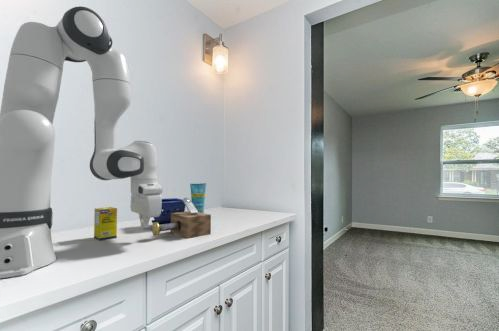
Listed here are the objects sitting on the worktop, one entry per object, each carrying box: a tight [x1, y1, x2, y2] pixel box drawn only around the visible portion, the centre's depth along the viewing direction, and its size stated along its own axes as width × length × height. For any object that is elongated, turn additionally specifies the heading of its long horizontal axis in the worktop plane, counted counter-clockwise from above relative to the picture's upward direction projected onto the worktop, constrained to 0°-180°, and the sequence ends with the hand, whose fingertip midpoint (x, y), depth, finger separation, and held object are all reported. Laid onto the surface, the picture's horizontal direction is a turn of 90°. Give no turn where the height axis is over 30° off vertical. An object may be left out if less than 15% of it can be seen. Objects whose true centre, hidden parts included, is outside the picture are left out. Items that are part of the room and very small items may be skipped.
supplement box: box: [93, 206, 118, 241], centre depth 93 cm, size 6×6×11 cm
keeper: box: [182, 197, 198, 214], centre depth 102 cm, size 3×9×1 cm
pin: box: [151, 222, 181, 237], centre depth 96 cm, size 14×5×5 cm, turn 132°
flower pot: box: [151, 197, 186, 225], centre depth 115 cm, size 13×13×12 cm
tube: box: [189, 182, 207, 213], centre depth 116 cm, size 7×5×19 cm, turn 123°
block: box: [170, 211, 212, 239], centre depth 101 cm, size 10×14×8 cm
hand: (144, 227), depth 89 cm, fingers closed
